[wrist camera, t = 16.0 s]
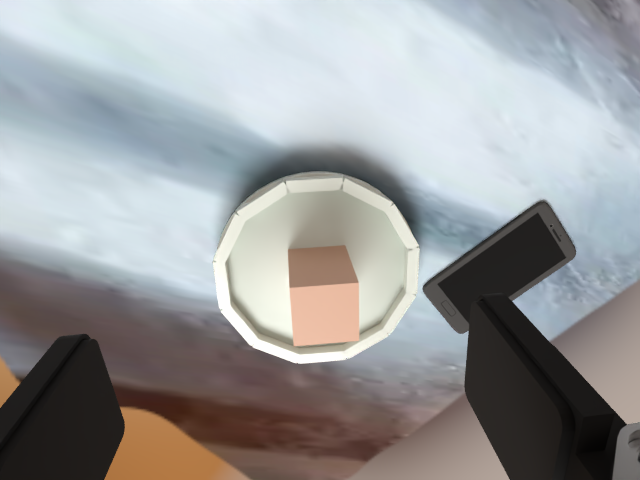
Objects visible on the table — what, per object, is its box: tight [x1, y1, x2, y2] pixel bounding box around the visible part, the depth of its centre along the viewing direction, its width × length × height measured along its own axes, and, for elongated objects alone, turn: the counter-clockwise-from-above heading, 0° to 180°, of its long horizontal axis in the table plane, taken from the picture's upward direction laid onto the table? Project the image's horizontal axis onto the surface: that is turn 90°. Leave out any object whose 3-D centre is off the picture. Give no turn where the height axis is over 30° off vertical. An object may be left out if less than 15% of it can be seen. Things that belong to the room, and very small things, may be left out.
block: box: [288, 245, 359, 346], centre depth 35 cm, size 5×5×7 cm
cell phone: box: [423, 202, 576, 334], centre depth 41 cm, size 7×14×1 cm, turn 129°
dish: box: [213, 171, 420, 364], centre depth 38 cm, size 18×18×3 cm
